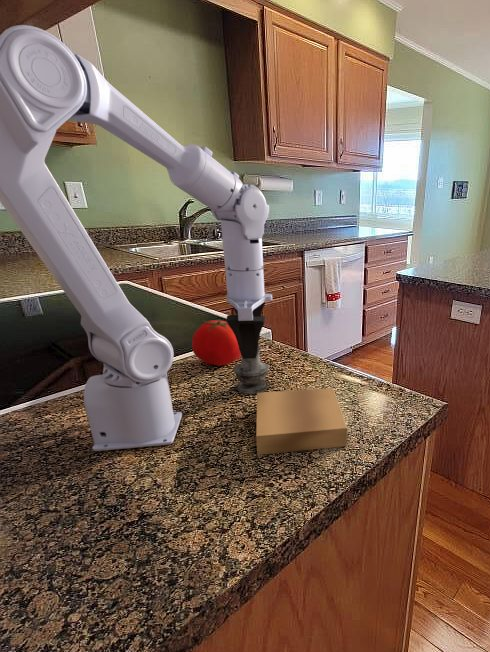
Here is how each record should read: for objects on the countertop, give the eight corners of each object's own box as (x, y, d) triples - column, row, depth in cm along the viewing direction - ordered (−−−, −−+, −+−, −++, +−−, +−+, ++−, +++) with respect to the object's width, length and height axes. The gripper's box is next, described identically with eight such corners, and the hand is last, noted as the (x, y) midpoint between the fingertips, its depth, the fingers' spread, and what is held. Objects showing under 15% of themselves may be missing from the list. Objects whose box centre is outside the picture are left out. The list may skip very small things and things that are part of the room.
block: (257, 455, 52) (256, 436, 51) (258, 409, 63) (257, 392, 62) (346, 446, 55) (347, 427, 54) (332, 403, 66) (333, 387, 64)
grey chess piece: (260, 396, 66) (256, 329, 62) (228, 391, 67) (222, 324, 63) (275, 381, 72) (272, 318, 67) (245, 377, 73) (240, 314, 68)
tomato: (188, 358, 79) (183, 318, 76) (238, 348, 85) (235, 311, 82) (203, 375, 72) (197, 332, 69) (256, 364, 78) (253, 323, 75)
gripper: (271, 277, 56) (275, 365, 61) (269, 259, 69) (273, 333, 74) (219, 277, 54) (227, 367, 60) (227, 259, 67) (233, 334, 72)
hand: (250, 348), depth 67 cm, fingers open, 7 cm apart
